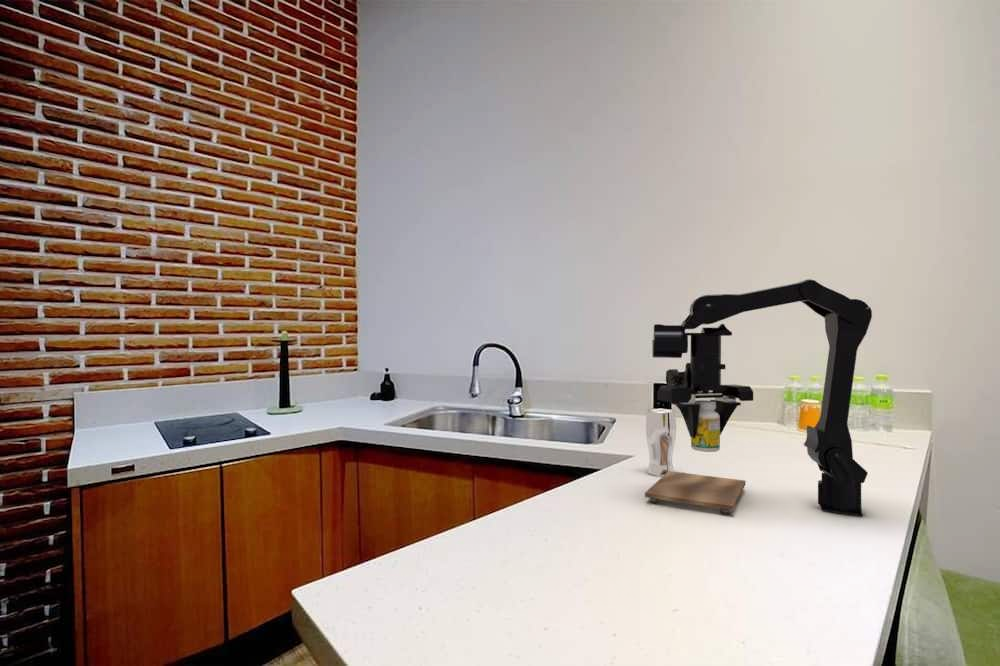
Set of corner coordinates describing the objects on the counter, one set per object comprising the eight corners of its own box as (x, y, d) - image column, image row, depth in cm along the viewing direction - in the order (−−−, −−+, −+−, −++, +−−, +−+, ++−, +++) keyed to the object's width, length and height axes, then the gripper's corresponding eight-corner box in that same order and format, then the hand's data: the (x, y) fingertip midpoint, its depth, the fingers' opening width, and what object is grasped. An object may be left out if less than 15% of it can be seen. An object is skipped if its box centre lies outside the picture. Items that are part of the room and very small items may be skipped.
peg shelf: (745, 490, 115) (745, 480, 115) (733, 517, 98) (733, 506, 98) (668, 479, 123) (668, 471, 123) (644, 503, 106) (644, 492, 106)
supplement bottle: (725, 451, 106) (726, 402, 106) (703, 453, 104) (703, 403, 104) (707, 446, 111) (707, 399, 111) (685, 447, 109) (685, 400, 109)
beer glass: (680, 477, 125) (680, 412, 125) (649, 477, 125) (650, 412, 125) (671, 469, 132) (671, 408, 132) (642, 469, 132) (642, 408, 132)
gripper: (718, 356, 118) (717, 428, 118) (642, 357, 113) (642, 431, 113) (755, 359, 107) (755, 437, 107) (673, 359, 102) (673, 442, 102)
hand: (705, 436), depth 108 cm, fingers closed on supplement bottle, 5 cm apart
